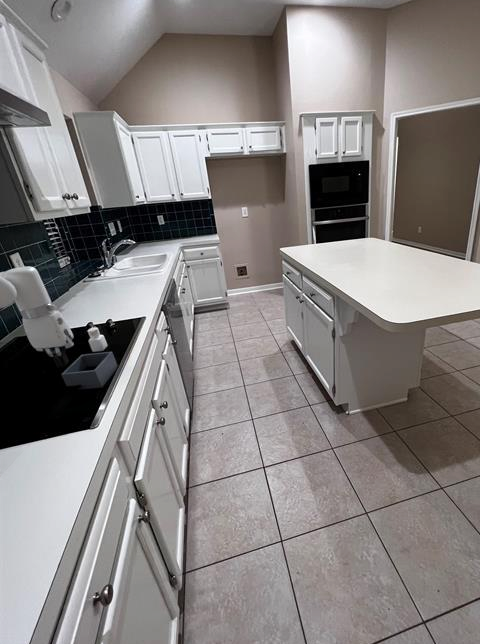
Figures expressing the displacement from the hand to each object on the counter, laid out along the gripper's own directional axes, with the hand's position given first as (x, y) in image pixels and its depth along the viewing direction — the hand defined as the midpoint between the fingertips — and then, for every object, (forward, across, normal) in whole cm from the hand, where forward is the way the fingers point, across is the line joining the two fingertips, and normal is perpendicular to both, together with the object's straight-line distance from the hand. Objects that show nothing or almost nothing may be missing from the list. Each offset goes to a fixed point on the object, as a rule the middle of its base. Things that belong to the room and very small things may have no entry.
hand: (63, 364), depth 97 cm
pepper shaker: (+6, -2, -17) cm, 18 cm away
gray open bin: (+3, -2, 0) cm, 4 cm away
